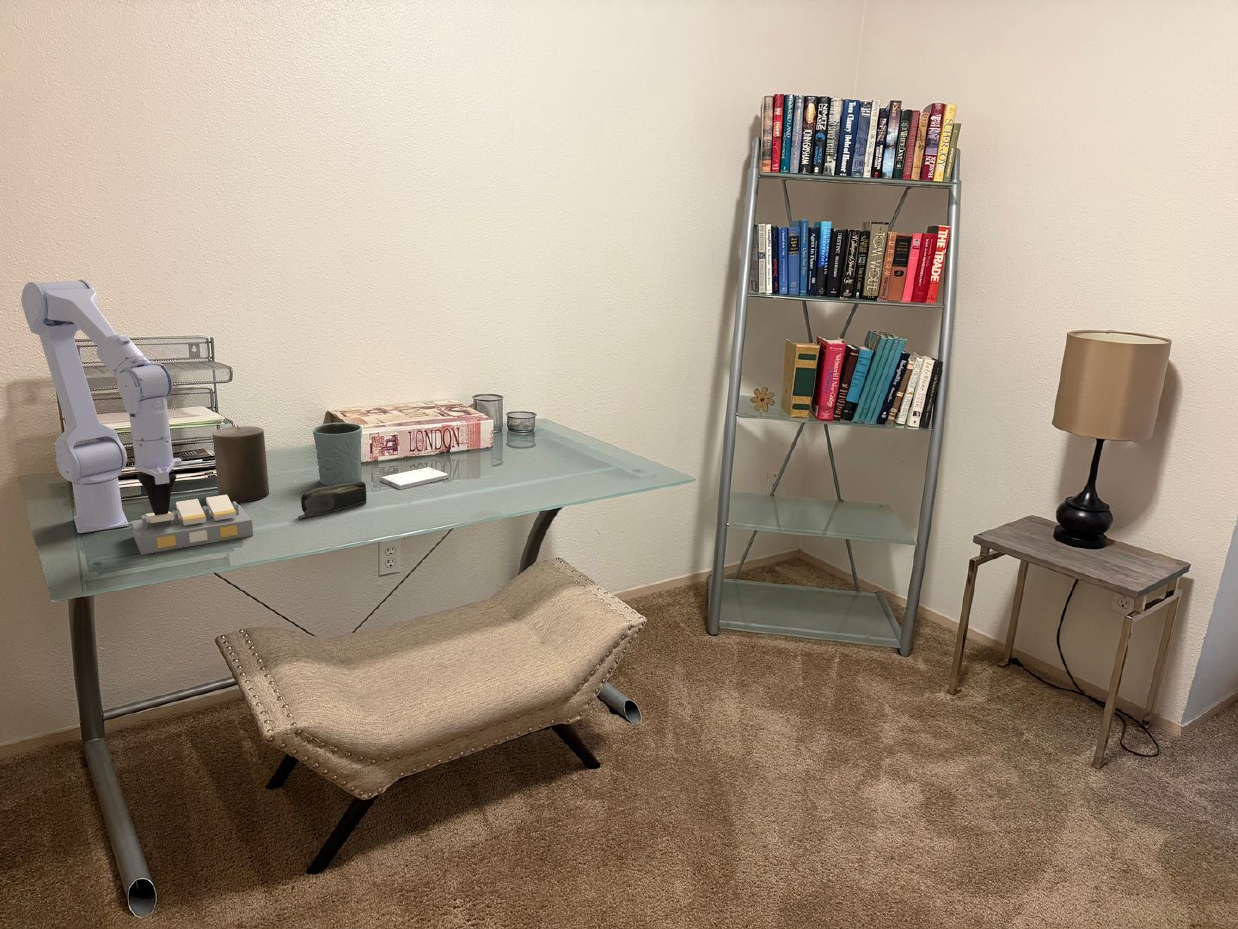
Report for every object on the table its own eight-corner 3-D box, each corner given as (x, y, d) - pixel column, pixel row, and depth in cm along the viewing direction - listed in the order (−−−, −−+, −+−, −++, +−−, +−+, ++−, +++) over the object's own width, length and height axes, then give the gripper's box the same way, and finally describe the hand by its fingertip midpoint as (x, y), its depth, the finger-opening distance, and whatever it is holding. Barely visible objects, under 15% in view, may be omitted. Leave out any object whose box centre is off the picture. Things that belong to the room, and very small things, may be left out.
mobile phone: (360, 478, 177) (292, 492, 165) (369, 481, 175) (300, 496, 164) (361, 501, 178) (293, 517, 167) (369, 505, 176) (301, 520, 165)
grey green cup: (357, 472, 196) (354, 420, 193) (370, 484, 188) (367, 430, 185) (311, 478, 191) (307, 425, 188) (322, 490, 183) (318, 435, 180)
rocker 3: (206, 502, 159) (205, 497, 158) (227, 499, 161) (227, 494, 160) (214, 520, 154) (214, 515, 153) (236, 517, 156) (236, 512, 155)
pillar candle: (265, 501, 175) (259, 429, 171) (213, 503, 173) (206, 430, 169) (272, 487, 184) (267, 418, 180) (223, 489, 182) (216, 420, 178)
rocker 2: (176, 506, 156) (175, 501, 155) (198, 503, 158) (197, 498, 157) (184, 525, 151) (183, 520, 150) (206, 522, 153) (205, 516, 153)
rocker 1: (146, 519, 153) (145, 513, 153) (168, 516, 155) (167, 510, 155) (151, 523, 148) (150, 516, 148) (174, 519, 150) (173, 513, 150)
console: (133, 536, 154) (129, 510, 153) (240, 519, 164) (238, 494, 163) (141, 555, 146) (137, 527, 145) (253, 535, 157) (251, 509, 155)
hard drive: (427, 466, 199) (379, 476, 190) (448, 474, 193) (399, 484, 185) (428, 473, 199) (379, 483, 191) (448, 481, 194) (400, 491, 185)
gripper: (185, 443, 142) (194, 521, 146) (170, 425, 153) (179, 498, 157) (137, 449, 138) (147, 529, 142) (125, 430, 149) (135, 504, 153)
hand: (161, 513), depth 149 cm, fingers closed
